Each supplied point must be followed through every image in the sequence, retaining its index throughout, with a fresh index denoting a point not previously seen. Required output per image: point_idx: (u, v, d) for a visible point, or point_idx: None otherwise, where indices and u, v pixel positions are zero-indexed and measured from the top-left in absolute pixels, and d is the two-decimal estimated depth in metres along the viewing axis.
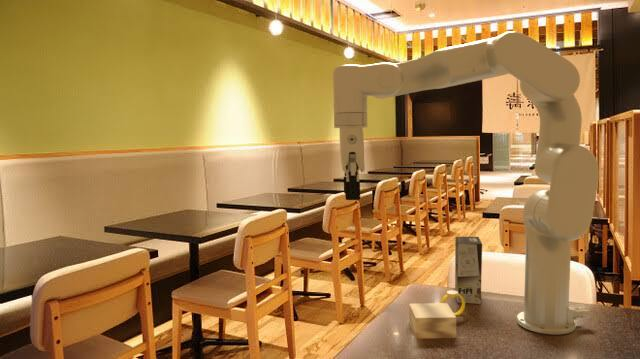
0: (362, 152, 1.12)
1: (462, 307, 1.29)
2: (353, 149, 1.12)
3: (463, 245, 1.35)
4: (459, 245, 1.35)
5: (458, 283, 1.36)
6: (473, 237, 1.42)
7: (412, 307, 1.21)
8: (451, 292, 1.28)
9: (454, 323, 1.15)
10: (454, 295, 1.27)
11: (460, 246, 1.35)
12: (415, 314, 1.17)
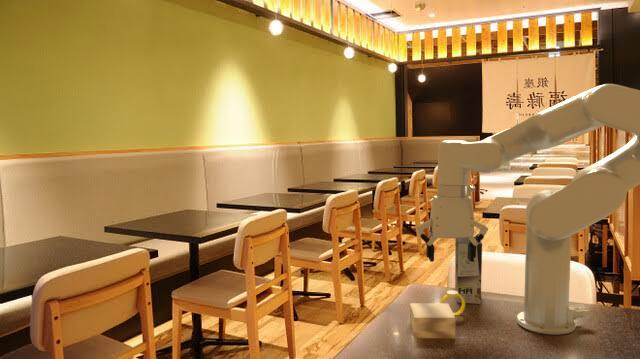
0: None
1: (462, 307, 1.29)
2: None
3: (463, 245, 1.35)
4: (459, 245, 1.35)
5: (458, 283, 1.36)
6: None
7: (412, 307, 1.22)
8: (451, 292, 1.28)
9: (453, 323, 1.15)
10: (454, 295, 1.27)
11: (460, 246, 1.35)
12: (414, 314, 1.17)
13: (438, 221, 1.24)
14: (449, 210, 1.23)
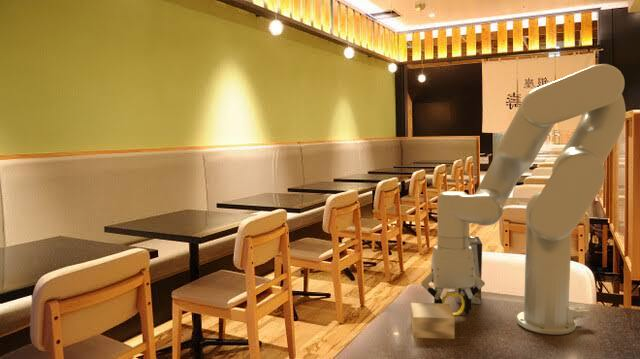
0: None
1: (462, 307, 1.29)
2: None
3: None
4: None
5: None
6: None
7: (413, 306, 1.22)
8: (451, 292, 1.28)
9: (452, 324, 1.15)
10: (454, 295, 1.27)
11: None
12: (414, 313, 1.17)
13: (439, 273, 1.25)
14: (450, 262, 1.25)
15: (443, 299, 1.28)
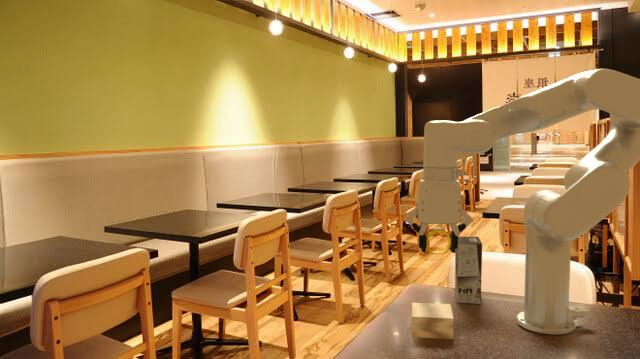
0: None
1: (448, 245, 1.21)
2: None
3: (463, 245, 1.35)
4: (459, 245, 1.35)
5: (458, 283, 1.36)
6: (473, 237, 1.42)
7: (413, 306, 1.22)
8: (437, 228, 1.20)
9: (451, 324, 1.14)
10: (439, 231, 1.19)
11: (460, 246, 1.35)
12: (413, 313, 1.18)
13: (424, 206, 1.18)
14: (435, 194, 1.17)
15: (428, 236, 1.20)
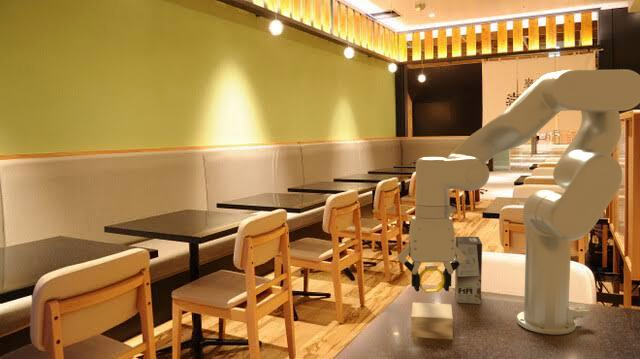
0: None
1: (441, 283, 1.19)
2: None
3: (463, 245, 1.35)
4: (459, 245, 1.35)
5: (458, 283, 1.36)
6: (473, 237, 1.42)
7: (413, 306, 1.22)
8: (430, 266, 1.18)
9: (450, 324, 1.14)
10: (433, 269, 1.17)
11: (460, 246, 1.35)
12: (413, 313, 1.18)
13: (417, 245, 1.15)
14: (428, 233, 1.15)
15: (421, 274, 1.18)
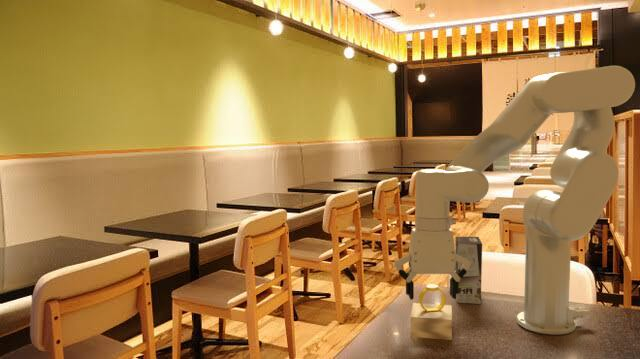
0: None
1: (442, 302, 1.19)
2: None
3: (463, 245, 1.35)
4: (459, 245, 1.35)
5: None
6: (473, 237, 1.42)
7: (413, 306, 1.22)
8: (431, 286, 1.18)
9: (450, 325, 1.14)
10: (434, 289, 1.17)
11: (460, 246, 1.35)
12: (412, 313, 1.18)
13: (417, 257, 1.16)
14: (428, 245, 1.15)
15: (422, 294, 1.18)
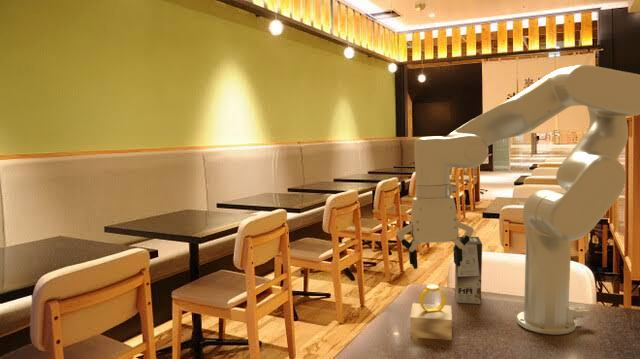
0: None
1: (443, 302, 1.19)
2: None
3: None
4: None
5: (458, 283, 1.36)
6: (473, 237, 1.42)
7: (413, 307, 1.22)
8: (431, 286, 1.18)
9: (450, 325, 1.14)
10: (434, 290, 1.17)
11: None
12: (412, 313, 1.18)
13: (419, 225, 1.15)
14: (430, 213, 1.14)
15: (422, 294, 1.18)
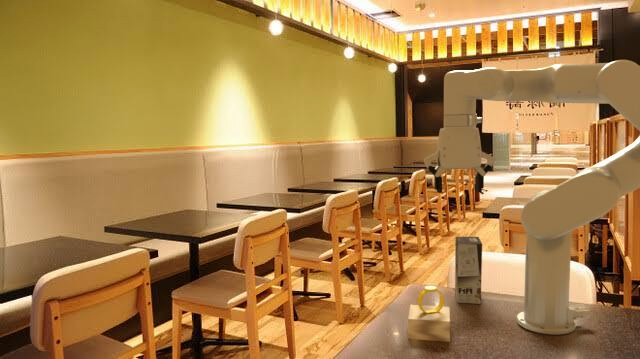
0: None
1: (441, 303, 1.19)
2: None
3: (463, 245, 1.35)
4: (459, 245, 1.35)
5: (458, 283, 1.36)
6: (473, 237, 1.42)
7: (411, 308, 1.21)
8: (429, 287, 1.18)
9: (448, 327, 1.13)
10: (433, 290, 1.16)
11: (460, 246, 1.35)
12: (410, 315, 1.17)
13: (446, 152, 1.25)
14: (456, 140, 1.24)
15: (421, 295, 1.17)
